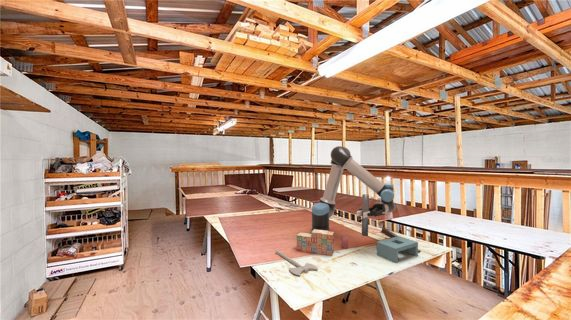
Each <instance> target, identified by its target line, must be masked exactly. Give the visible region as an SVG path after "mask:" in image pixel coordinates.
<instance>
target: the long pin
mask: <svg viewBox="0 0 571 320" xmlns="http://www.w3.org/2000/svg"><path fill="white" fill-rule="evenodd" d="M361 198H362V199H361V201H362V202H361V203H362V204H361V208H362V215H361V236H362V237H368V236H369V217H366V218H363V213H365V212H369V208H370V207H369V206H370V204H369V203H370V201H369V200H370V194H365V193H364V194H362V197H361Z"/></svg>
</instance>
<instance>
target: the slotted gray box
mask: <svg viewBox="0 0 571 320" xmlns="http://www.w3.org/2000/svg"><path fill="white" fill-rule="evenodd" d="M380 233H382V234H384V235H387V236H388V237H390V238H393V237H397V236H399V235H397V234H396V233H395V232H393V231H391V230H389V229H387V227H381V230H380ZM421 252H422V251H421V249H419V248H418V254H419V253H421Z"/></svg>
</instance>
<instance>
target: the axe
mask: <svg viewBox="0 0 571 320" xmlns="http://www.w3.org/2000/svg"><path fill="white" fill-rule="evenodd" d="M275 254H276V255H278V256H280V257H281V258H283V259H285V260H286V261H287V262H288V263H290V264H292V265H293V266H295V267H289V268H288V269H289V272H290V273H292V274H294V275H297V276H301V274H302V273H305V274H307V273H309V271H318V267H317V266H316V265H314V264H312V263H309V262H306V263H305V265H301V264H300V263H299V262H297V261H296V260H294V259H293V258H291V257H289V256H288V255H286V254H285V253H283V252H281V251H280V250H279V249H276V250H275Z"/></svg>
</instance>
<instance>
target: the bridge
mask: <svg viewBox="0 0 571 320" xmlns="http://www.w3.org/2000/svg"><path fill="white" fill-rule="evenodd" d="M418 249H419V242H418V241H416V240H413V239H410V238H406V237H403V236H401V235H398V236H397V237H393V238H392V237H390V238H385V239H382V240H379V241H376V255H377V256H379V257H380V258H383V259H385V260H388V261H389V262H392V263H398V262H399V252H404V253H407V254H410V255H412V256H416V257H417V256H418V255H419V253H418Z"/></svg>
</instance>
